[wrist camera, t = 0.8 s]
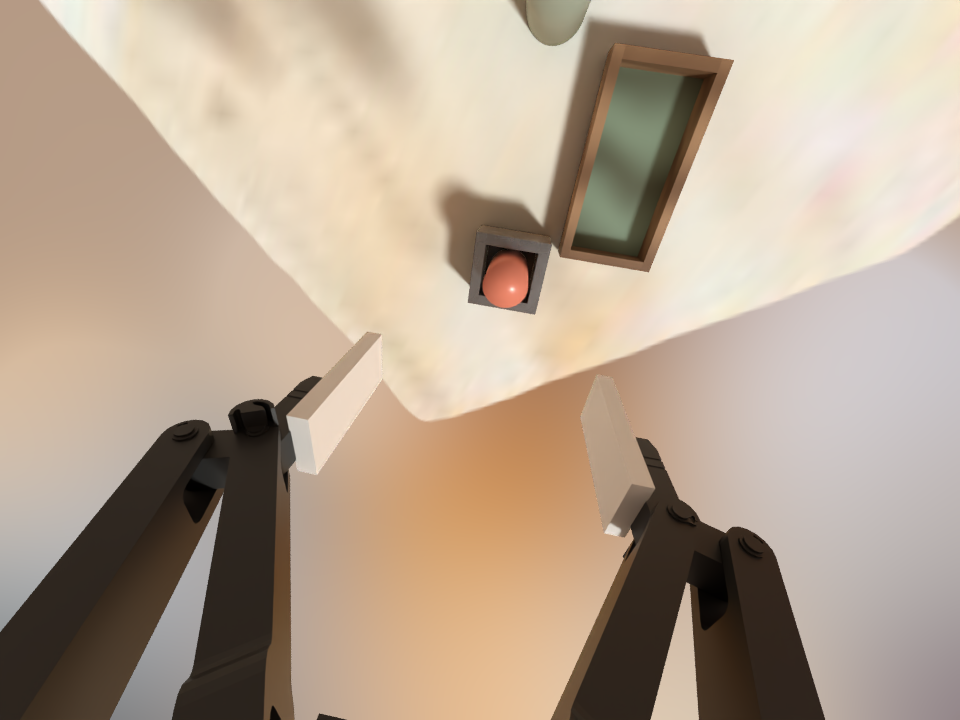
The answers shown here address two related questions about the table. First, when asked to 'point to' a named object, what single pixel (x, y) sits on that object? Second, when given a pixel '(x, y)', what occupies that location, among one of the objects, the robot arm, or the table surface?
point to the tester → (511, 241)
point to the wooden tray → (639, 152)
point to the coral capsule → (506, 278)
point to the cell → (555, 19)
